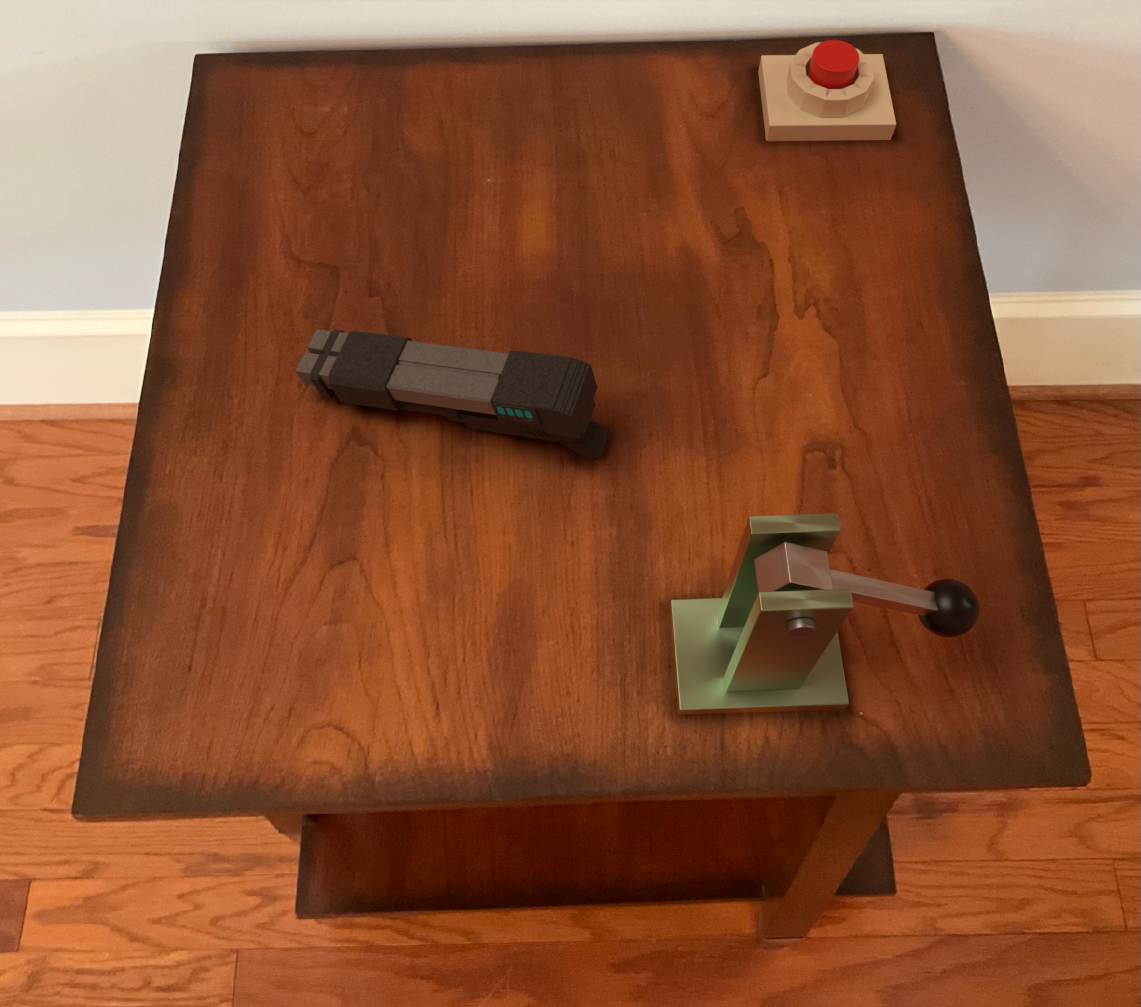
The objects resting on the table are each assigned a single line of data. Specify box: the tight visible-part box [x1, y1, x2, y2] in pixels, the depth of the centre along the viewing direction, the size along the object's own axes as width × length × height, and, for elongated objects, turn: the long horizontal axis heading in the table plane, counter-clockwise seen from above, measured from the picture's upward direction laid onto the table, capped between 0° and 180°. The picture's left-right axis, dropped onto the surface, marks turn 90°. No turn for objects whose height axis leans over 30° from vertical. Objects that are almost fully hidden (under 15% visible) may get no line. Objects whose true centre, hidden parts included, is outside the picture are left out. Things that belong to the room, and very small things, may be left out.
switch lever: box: [755, 542, 980, 638], centre depth 53 cm, size 14×3×3 cm, turn 92°
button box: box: [757, 41, 897, 142], centre depth 81 cm, size 10×8×4 cm
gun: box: [294, 328, 610, 461], centre depth 68 cm, size 4×20×10 cm, turn 73°
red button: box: [809, 39, 859, 89], centre depth 79 cm, size 4×4×2 cm
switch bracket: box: [668, 512, 854, 716], centre depth 55 cm, size 10×7×15 cm
